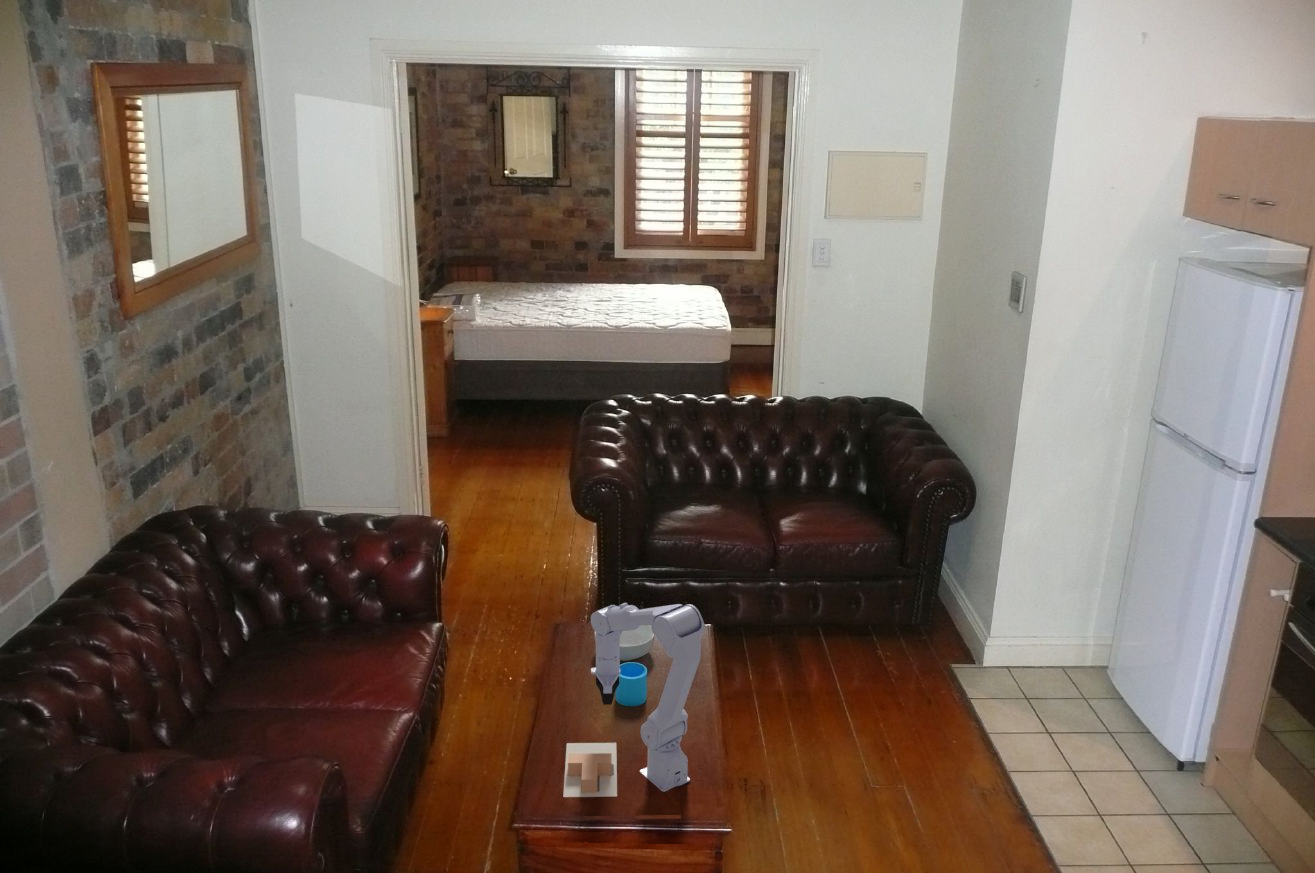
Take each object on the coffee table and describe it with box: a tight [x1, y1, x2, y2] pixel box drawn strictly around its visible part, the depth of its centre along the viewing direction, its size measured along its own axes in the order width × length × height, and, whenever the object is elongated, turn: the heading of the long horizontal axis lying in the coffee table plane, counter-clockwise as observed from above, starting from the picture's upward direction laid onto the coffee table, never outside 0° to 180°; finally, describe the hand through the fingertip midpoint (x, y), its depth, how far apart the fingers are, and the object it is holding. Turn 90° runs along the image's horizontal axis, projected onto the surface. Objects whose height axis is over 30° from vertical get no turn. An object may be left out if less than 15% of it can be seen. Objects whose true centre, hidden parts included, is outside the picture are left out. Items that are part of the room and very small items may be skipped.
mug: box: [615, 661, 648, 707], centre depth 268 cm, size 12×8×8 cm
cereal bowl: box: [594, 625, 656, 662], centre depth 287 cm, size 17×17×7 cm
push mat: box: [563, 742, 618, 798], centre depth 238 cm, size 20×12×1 cm, turn 3°
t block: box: [568, 753, 612, 793], centre depth 234 cm, size 10×10×4 cm
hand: (607, 703), depth 248 cm, fingers closed
